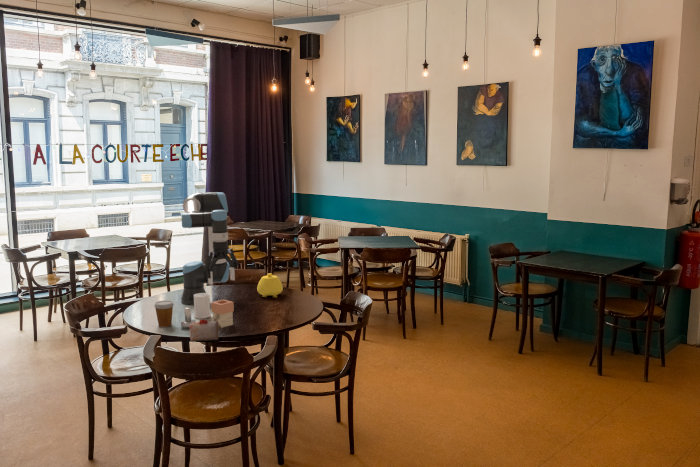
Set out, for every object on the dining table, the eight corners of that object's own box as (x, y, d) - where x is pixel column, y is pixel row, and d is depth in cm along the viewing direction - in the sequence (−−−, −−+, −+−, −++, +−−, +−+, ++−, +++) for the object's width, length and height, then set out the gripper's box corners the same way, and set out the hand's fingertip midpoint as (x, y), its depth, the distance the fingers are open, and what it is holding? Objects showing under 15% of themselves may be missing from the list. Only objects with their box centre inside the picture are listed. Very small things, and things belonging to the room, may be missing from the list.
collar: (211, 311, 310) (211, 302, 309) (224, 308, 316) (223, 299, 315) (221, 314, 304) (220, 305, 304) (233, 311, 310) (233, 301, 310)
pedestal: (213, 325, 311) (212, 311, 310) (224, 322, 316) (224, 309, 315) (221, 327, 306) (221, 314, 305) (232, 324, 311) (232, 311, 310)
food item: (188, 342, 283) (187, 322, 282) (190, 337, 291) (189, 317, 290) (218, 341, 285) (217, 321, 284) (219, 336, 293) (218, 316, 292)
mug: (192, 313, 332) (191, 292, 330) (207, 312, 335) (206, 290, 334) (195, 319, 321) (194, 297, 320) (211, 317, 325) (210, 295, 323)
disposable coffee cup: (157, 323, 315) (156, 300, 313) (176, 322, 316) (175, 300, 314) (153, 328, 306) (152, 305, 304) (172, 327, 306) (171, 304, 305)
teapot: (259, 291, 383) (259, 269, 381) (284, 290, 384) (283, 269, 382) (255, 299, 364) (255, 276, 362) (281, 298, 364) (281, 276, 362)
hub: (178, 327, 307) (177, 308, 306) (190, 324, 312) (189, 305, 311) (186, 330, 302) (185, 310, 301) (198, 327, 308) (197, 307, 306)
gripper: (203, 244, 293) (205, 287, 296) (244, 238, 312) (245, 279, 315) (194, 243, 298) (196, 285, 301) (235, 237, 317) (236, 277, 320)
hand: (221, 282), depth 308 cm, fingers open, 13 cm apart
